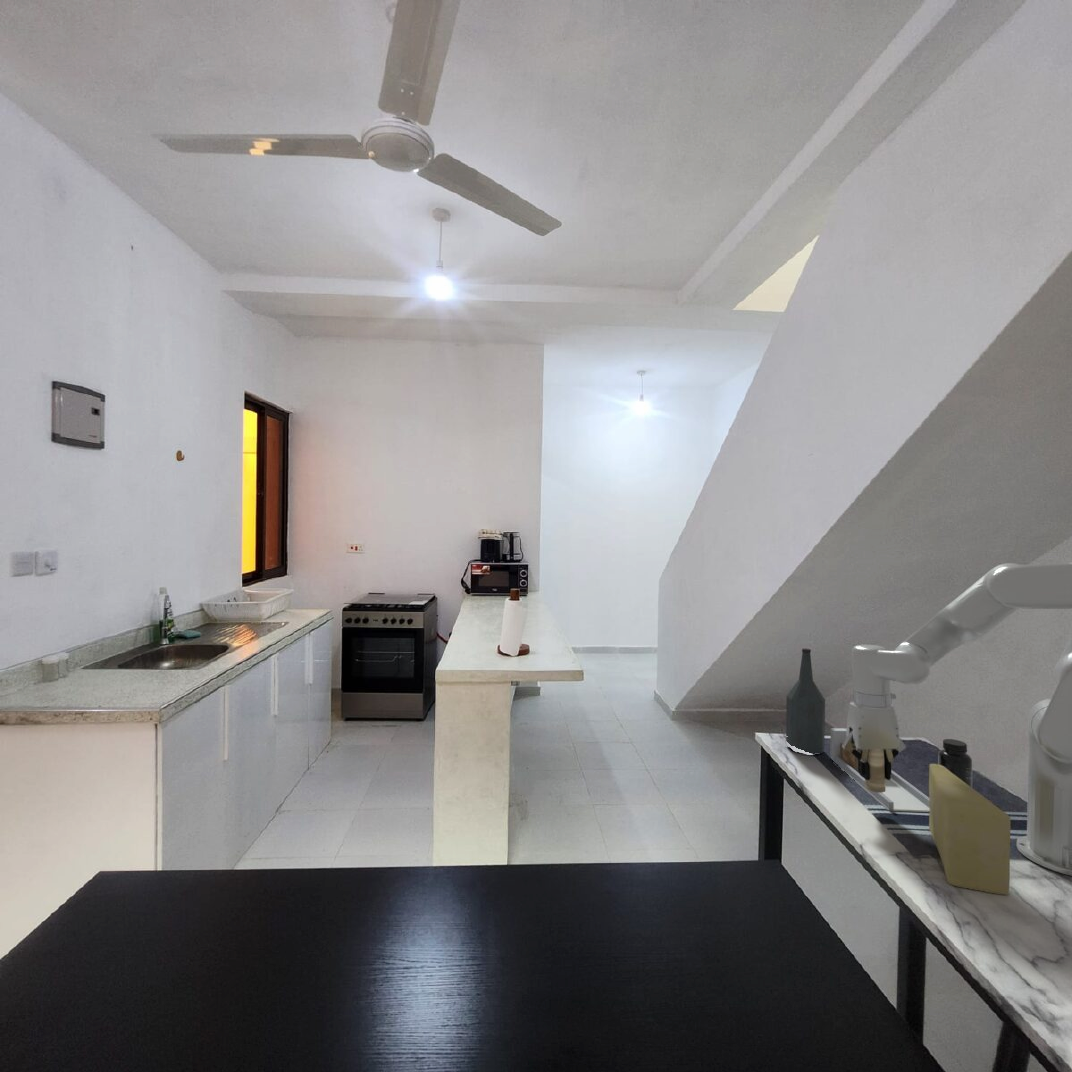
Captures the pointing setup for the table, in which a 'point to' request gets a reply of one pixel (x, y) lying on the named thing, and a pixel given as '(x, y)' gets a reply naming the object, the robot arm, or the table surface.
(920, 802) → the track
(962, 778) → the supplement bottle
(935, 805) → the cheese
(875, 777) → the dowel
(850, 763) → the brown wooden open box
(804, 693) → the bottle
